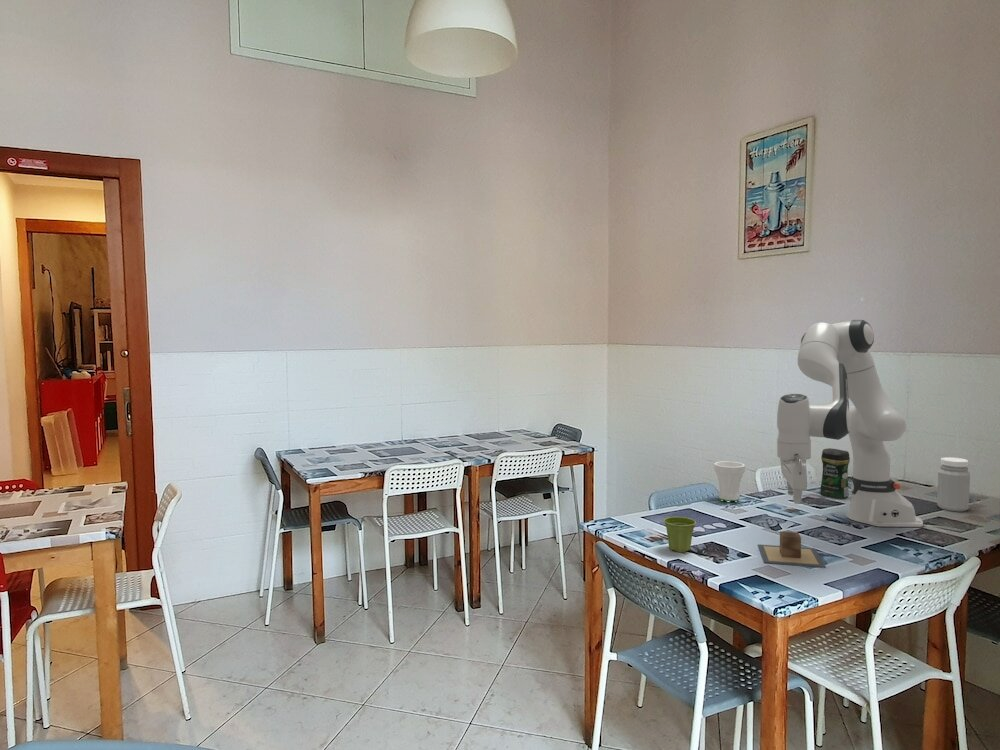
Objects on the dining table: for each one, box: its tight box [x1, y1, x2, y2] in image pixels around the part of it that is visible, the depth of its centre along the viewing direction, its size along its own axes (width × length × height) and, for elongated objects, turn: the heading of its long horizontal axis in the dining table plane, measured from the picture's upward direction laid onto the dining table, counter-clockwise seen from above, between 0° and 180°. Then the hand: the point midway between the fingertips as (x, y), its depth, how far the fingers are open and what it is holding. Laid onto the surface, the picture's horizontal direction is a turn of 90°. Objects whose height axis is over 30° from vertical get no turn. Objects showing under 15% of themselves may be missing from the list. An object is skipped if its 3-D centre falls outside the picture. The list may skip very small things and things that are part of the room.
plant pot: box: [663, 516, 697, 553], centre depth 201 cm, size 9×9×9 cm
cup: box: [713, 460, 746, 502], centre depth 256 cm, size 11×11×14 cm
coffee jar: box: [819, 447, 851, 499], centre depth 260 cm, size 10×8×19 cm
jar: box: [936, 456, 971, 513], centre depth 241 cm, size 10×10×18 cm
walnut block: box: [779, 530, 802, 558], centre depth 194 cm, size 5×5×6 cm
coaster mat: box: [757, 543, 827, 569], centre depth 194 cm, size 16×16×1 cm
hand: (794, 498), depth 192 cm, fingers open, 8 cm apart
